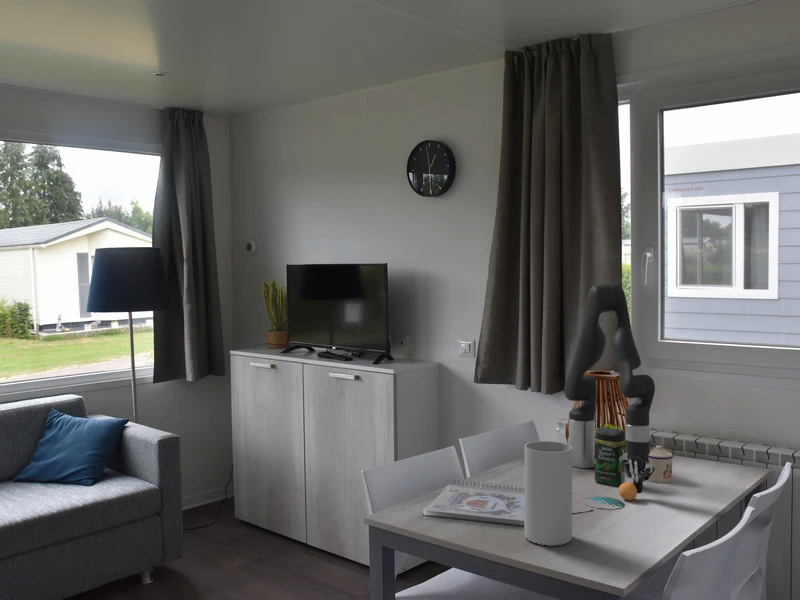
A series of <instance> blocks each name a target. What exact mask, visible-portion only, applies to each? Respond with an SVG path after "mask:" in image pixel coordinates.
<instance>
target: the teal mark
mask: <svg viewBox="0 0 800 600" xmlns="http://www.w3.org/2000/svg"><path fill="white" fill-rule="evenodd" d="M586 499H592V500H594V501H597V502H598V501H599V500H600V501H601V500H604V501H605V502H606V503H608V504H609V505H612V504H614V505H616V506H619V507H621V506H623V507H625V503H624V501H622V500H620V499H617V498H613V497H608V496H592V497H587V498H586ZM594 501H593V502H594ZM601 502H602V503H603V504H606V503H604V502H603V501H601ZM594 503H595V502H594ZM598 503H599V502H598ZM596 504H597V503H596ZM600 504H601V503H600ZM618 504H619V505H618ZM614 505H612V506H614ZM620 505H621V506H620ZM614 507H615V506H614Z"/></svg>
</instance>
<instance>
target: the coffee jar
mask: <svg viewBox="0 0 800 600" xmlns="http://www.w3.org/2000/svg"><path fill="white" fill-rule="evenodd" d="M595 445H596V459H595V460H596V461H595V466H594V467H595V469H594V481H595V482H596V483H598V484H603V485H608V486H616V487H617V486H620V485H621V484H623V483H625V482H626V479H625V477H626V475H625V473H626V472H625V468H624V466H623V464H622V460H624V450H625V447H624V446H625V431H624V430H623V429H616V428H610V427H603V426H601V427H598V428H597V429H596V430H595Z"/></svg>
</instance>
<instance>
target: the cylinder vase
mask: <svg viewBox="0 0 800 600" xmlns="http://www.w3.org/2000/svg"><path fill="white" fill-rule="evenodd" d="M572 502H573V467H572V446H570V445H568V443H565V442H559V441H549V440H537V441H531V442H527V443H525V444H524V521H523V522H524V527H523V528H524V531H523V532H524V534H523V535H524V537H525V539H526V540H527V539H528V540H527V541H529V542H530V541H531V542H530V543H532V542H533V543H532V544H535V543H537V544H536V545H539V544H540V545H539V546H544V545H547V546H546V547H556V546H557V545H559V546H564V545H567V544H568V543H570V542H571V540H572V538H573V531H572V530H573V514H572ZM566 543H567V544H566ZM563 544H564V545H563ZM557 547H558V546H557Z"/></svg>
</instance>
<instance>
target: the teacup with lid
mask: <svg viewBox="0 0 800 600" xmlns="http://www.w3.org/2000/svg"><path fill="white" fill-rule="evenodd" d="M673 458H674V455H673V454H672V453H671V452H670V451H668V450H666V449H664V448H663V447H662V446H661V445H655V448H653V449H650V454H649V455H648V459H649V465H650V466H651V467H654V468H655V470H654V472H653V473H652V475H651V476H650V478H649V479H648V480H647V481H649V482H652V483H657V482H658V483H659V484H667V483H670V482H672V480H673ZM666 482H667V483H666Z"/></svg>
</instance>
